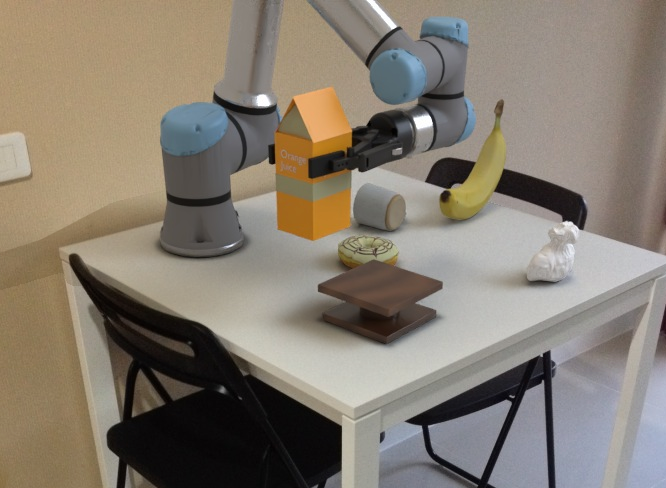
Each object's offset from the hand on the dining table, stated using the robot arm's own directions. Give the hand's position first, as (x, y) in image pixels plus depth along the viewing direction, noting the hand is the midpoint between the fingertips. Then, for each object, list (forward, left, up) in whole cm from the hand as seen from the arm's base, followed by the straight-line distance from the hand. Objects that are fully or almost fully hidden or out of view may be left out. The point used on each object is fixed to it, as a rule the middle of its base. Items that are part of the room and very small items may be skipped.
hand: (289, 161), depth 143 cm
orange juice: (+1, +5, -11) cm, 12 cm away
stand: (+11, +8, -24) cm, 28 cm away
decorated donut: (-5, +25, -24) cm, 35 cm away
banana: (-6, +59, -24) cm, 64 cm away
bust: (+24, +41, -24) cm, 53 cm away
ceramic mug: (-15, +42, -24) cm, 51 cm away
